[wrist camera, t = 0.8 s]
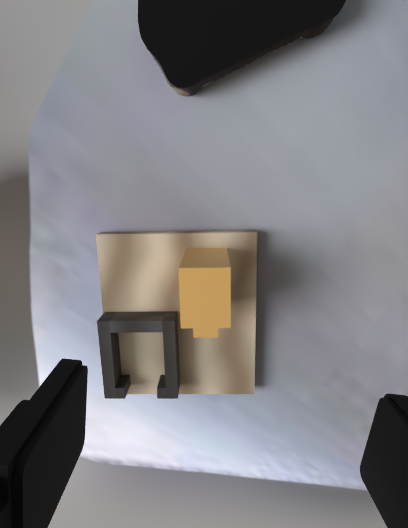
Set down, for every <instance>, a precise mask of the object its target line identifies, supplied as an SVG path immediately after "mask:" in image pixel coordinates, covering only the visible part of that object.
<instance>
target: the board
mask: <svg viewBox="0 0 408 528" xmlns="http://www.w3.org/2000/svg"><path fill="white" fill-rule="evenodd" d="M96 242H97V252H98V263H99V273H100V284H101V294H102V305H103V315H102V316H101V317H100V319H99V320H98V321H97V325H98V335H99V345H100V355H101V365H102V375H103V385H104V395H105V398H125V397H126V395H127V394H157V398H178V394H254V392H255V336H256V281H257V231H256V230H219V231H154V232H100V233H98V234H96ZM186 248H227V251H228V257H229V262H230V267H231V328H218V337H201V338H193V328H181V323H180V297H179V271H178V268H179V265H180V263H181V260H182V258H183V256H184V253H185V251H186Z"/></svg>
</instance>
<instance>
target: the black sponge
mask: <svg viewBox="0 0 408 528" xmlns="http://www.w3.org/2000/svg"><path fill="white" fill-rule="evenodd" d="M345 1H346V0H138V23H139V30H140V35H141V38H142V40H143V42H144V44H145V45H146V47H147V49H148V50H149V51H150V52H151V54H152V56H153V57H154V59H155V60H156V62H157V63H158V65H159V67H160V68H161V70H162V72H163V74H164V76H165V79H166V81H167V83H168V84H169V85H170V86H171V87H172V88H173V89H174V90H175V91H176V92H177V93H178V94H180V95H183V96H189V95H193V94H195V93H196V92H197V91H199V90H200V89H201V88H202V87H204V86H206V85H208V84H210V83H211V82H213V81H215V80H217V79H218V78H221V77H223V76H225V75H226V74H229V73H231V72H232V71H235V70H237V69H239V68H241V67H243V66H245V65H246V64H249V63H251V62H252V61H254V60H256V59H258V58H261V57H263V56H266V55H268V54H269V53H272V52H274V51H276V50H278V49H280V48H282V47H283V46H285V45H287V44H288V43H291V42H293V41H294V40H296V39H302V38H311V37H314V36H317V35H319V34H320V33H322V32H323V31H324V30H325V29H326V28H327V27H328V25H329V24H330V23H331V21H332V20H333V18H334V17H335V16H336V15H337V14H338V13H339V11H340V10H341V8H342V7H343V5H344V3H345Z"/></svg>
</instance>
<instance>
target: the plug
mask: <svg viewBox="0 0 408 528" xmlns="http://www.w3.org/2000/svg"><path fill="white" fill-rule="evenodd" d="M178 271H179V297H180V323H181V328H193V338H201V337H218V328H231V267H230V262H229V257H228V251H227V248H186V251H185V253H184V256H183V258H182V260H181V263H180V265H179V268H178Z"/></svg>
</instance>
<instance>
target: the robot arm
mask: <svg viewBox="0 0 408 528" xmlns="http://www.w3.org/2000/svg"><path fill="white" fill-rule="evenodd" d="M87 373H88V368H87V366H82V361H81V360H72V359H62V360H60V362H59V363H58V364H57V366H56V367H55V368H54V369H53V371H52V372H51V373H50V375H49V376H48V377H47V378H46V380H45V381H44V382H43V383H42V385H41V386H40V387H39V389H38V390H37V391H36V392H35V394H34V395H33V396H32V398H31V399H30V400H23V401H21V402H20V403H19V404H18V405H17V406H16V407H15V408H14V410H13V411H12V412H11V413H10V415H9V416H8V417H7V418H6V419H5V421H4V422H3V423H2V424H1V426H0V528H47V527H48V525H49V523H50V521H51V519H52V516H53V514H54V512H55V510H56V508H57V505H58V503H59V501H60V498H61V496H62V494H63V492H64V490H65V487H66V485H67V483H68V481H69V478H70V476H71V474H72V471H73V469H74V467H75V465H76V462H77V460H78V458H79V456H80V454H81V451H82V449H83V445H84V440H85V420H86V397H87ZM360 474H361V478H362V480H363V482H364V484H365V486H366V488H367V489H368V491H369V493H370V495H371V497H372V499H373V501H374V503H375V505H376V507H377V508H378V510H379V512H380V514H381V516H382V518H383V520H384V522H385V524H386V526H387V527H388V528H408V396H405V395H396V394H386V395H385V396H384V398H381V399H380V400H379V402H378V405H377V409H376V412H375V416H374V419H373V423H372V426H371V430H370V433H369V437H368V440H367V444H366V447H365V451H364V454H363V458H362V461H361V465H360Z"/></svg>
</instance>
